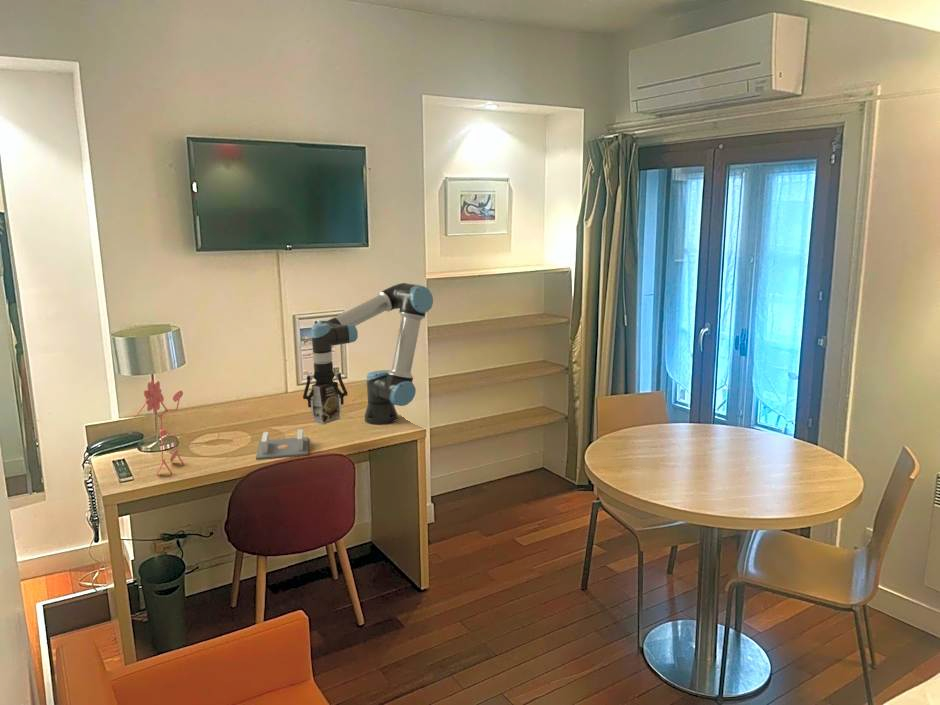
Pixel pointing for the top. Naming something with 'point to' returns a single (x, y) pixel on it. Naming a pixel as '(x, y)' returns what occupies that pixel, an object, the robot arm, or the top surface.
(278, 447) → the collar base
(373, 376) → the robot arm
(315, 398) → the coffee box
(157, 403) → the figurine
